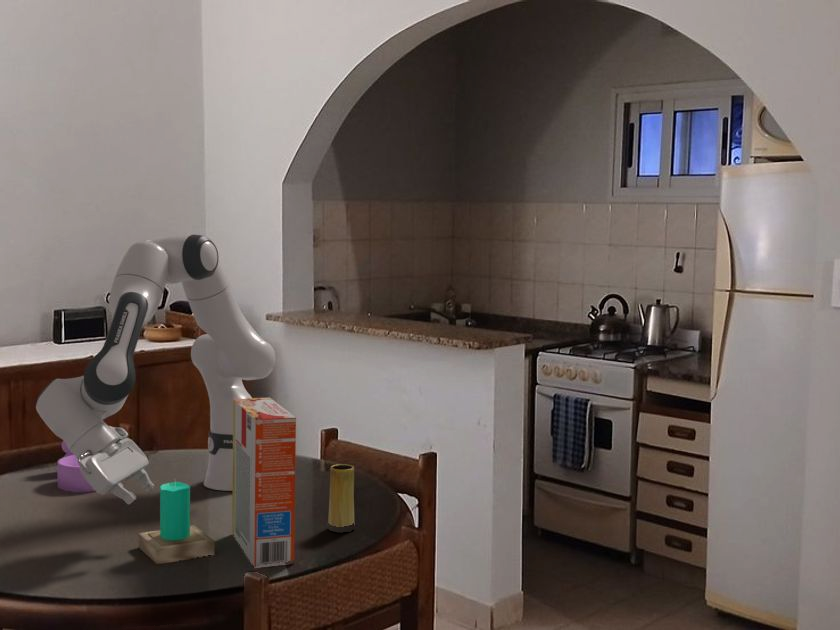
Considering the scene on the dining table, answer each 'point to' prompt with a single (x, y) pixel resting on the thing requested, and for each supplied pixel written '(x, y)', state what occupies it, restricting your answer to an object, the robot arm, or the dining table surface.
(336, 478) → the vase
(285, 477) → the cereal box
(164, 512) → the candle
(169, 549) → the base block
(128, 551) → the dining table surface
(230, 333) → the robot arm
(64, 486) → the container set
